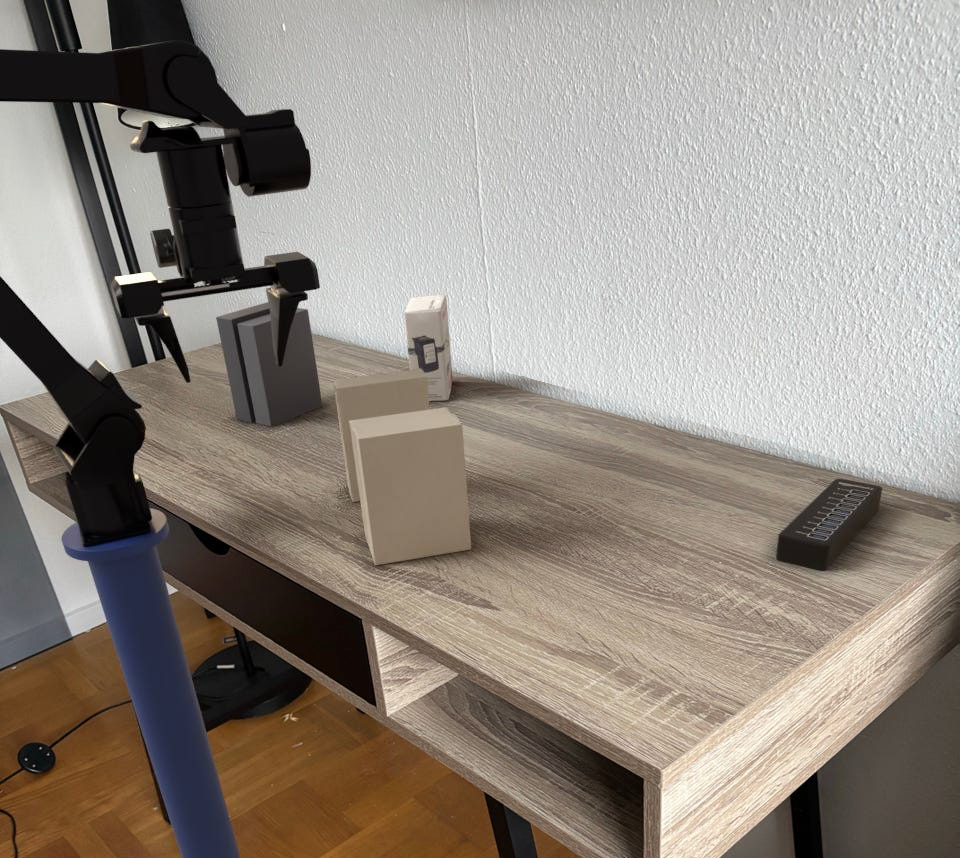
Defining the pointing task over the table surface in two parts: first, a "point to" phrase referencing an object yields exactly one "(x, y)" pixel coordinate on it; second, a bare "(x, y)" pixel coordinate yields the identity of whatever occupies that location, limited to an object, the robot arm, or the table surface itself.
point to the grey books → (269, 366)
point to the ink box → (430, 343)
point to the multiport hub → (828, 524)
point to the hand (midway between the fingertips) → (234, 373)
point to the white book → (376, 406)
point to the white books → (412, 484)
